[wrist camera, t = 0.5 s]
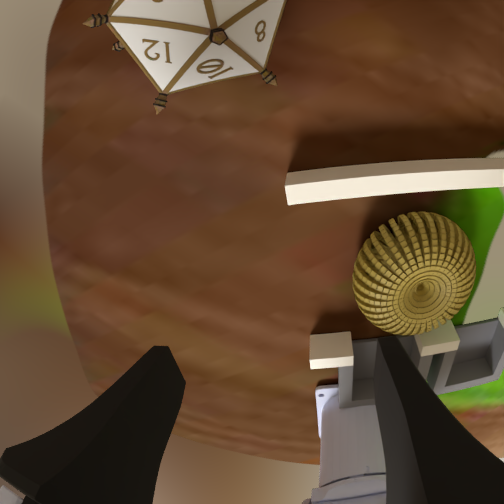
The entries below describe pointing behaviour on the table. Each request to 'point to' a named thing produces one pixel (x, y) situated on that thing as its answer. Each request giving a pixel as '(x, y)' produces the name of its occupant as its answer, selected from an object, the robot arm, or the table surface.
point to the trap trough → (445, 336)
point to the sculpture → (414, 273)
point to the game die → (194, 39)
